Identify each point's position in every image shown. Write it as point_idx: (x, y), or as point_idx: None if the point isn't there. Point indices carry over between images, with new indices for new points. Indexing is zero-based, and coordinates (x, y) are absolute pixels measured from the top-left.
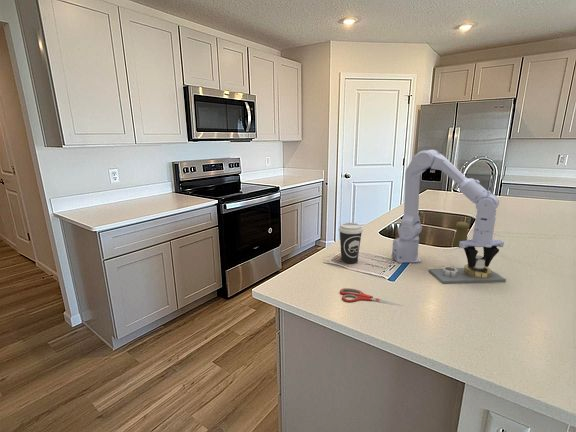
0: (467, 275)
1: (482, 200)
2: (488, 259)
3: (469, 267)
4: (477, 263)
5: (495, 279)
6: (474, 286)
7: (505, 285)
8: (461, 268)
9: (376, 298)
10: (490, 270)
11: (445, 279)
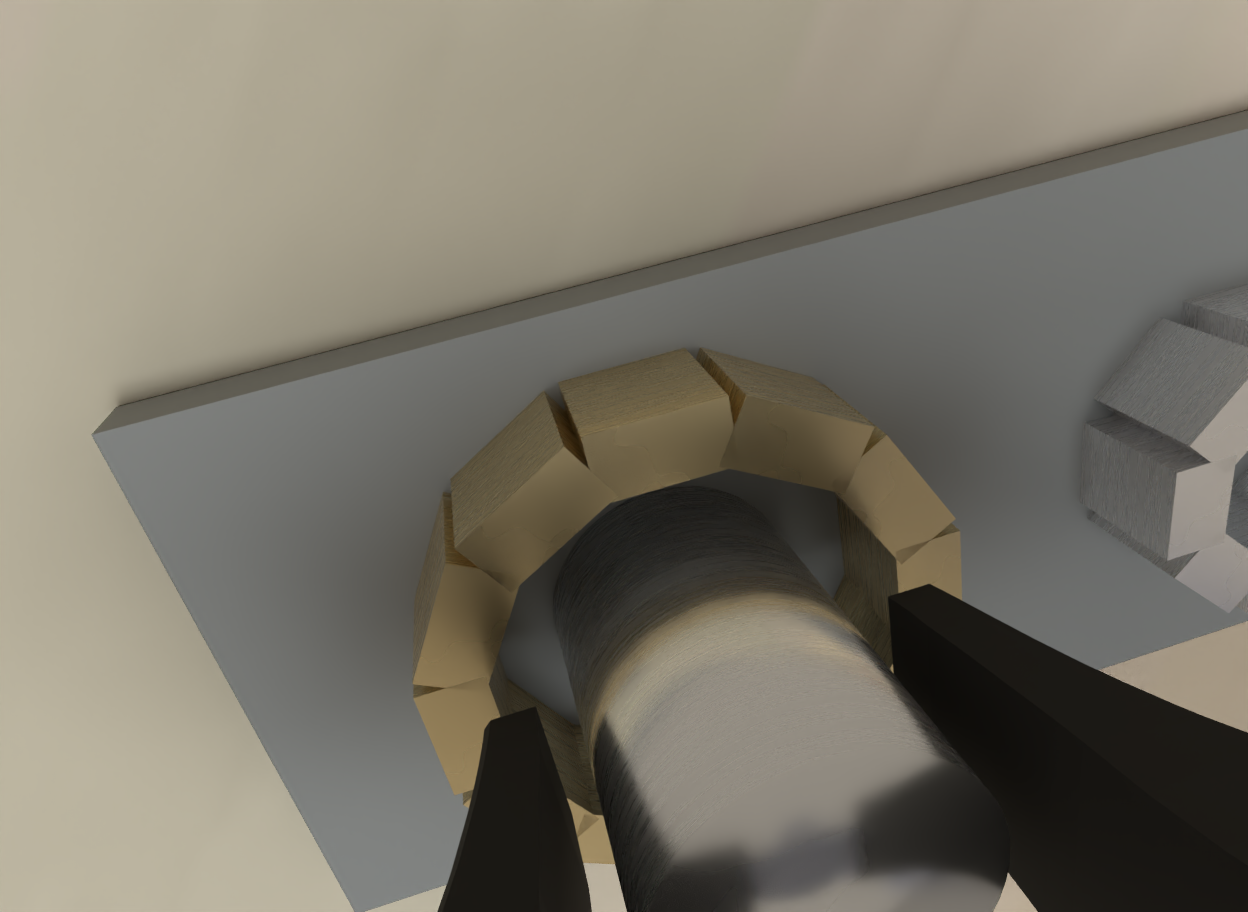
0: (902, 448)
1: None
2: (547, 907)
3: None
4: (869, 673)
5: (365, 371)
6: (918, 22)
7: (165, 209)
8: None
9: None
10: (438, 625)
11: None
